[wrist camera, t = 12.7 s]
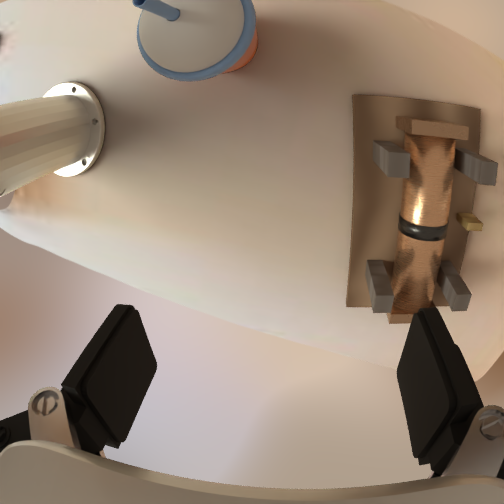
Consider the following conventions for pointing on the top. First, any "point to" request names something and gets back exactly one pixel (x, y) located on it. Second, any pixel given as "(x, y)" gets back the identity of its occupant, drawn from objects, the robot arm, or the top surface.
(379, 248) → the collar board
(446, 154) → the copper tube
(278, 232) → the top surface
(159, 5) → the cup with straw
